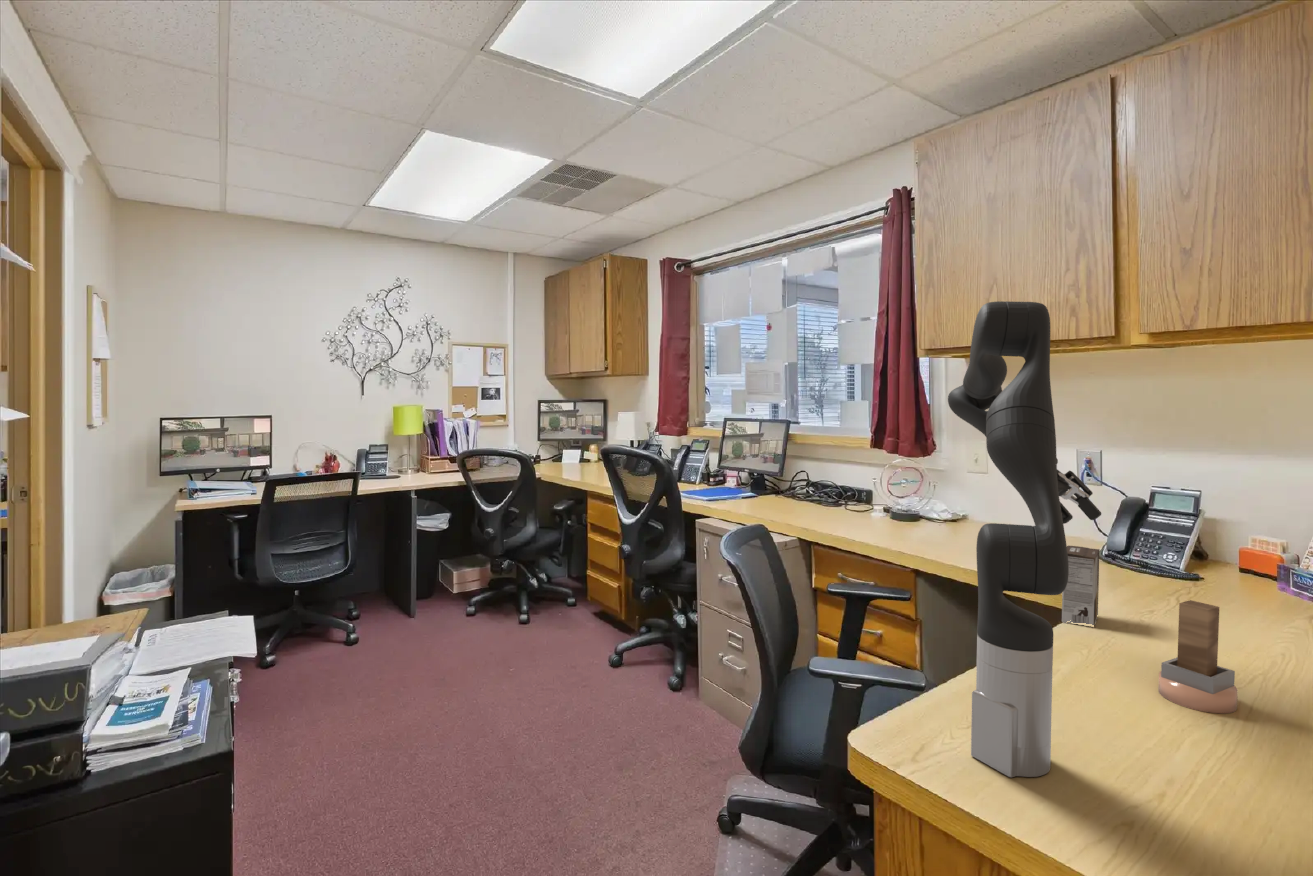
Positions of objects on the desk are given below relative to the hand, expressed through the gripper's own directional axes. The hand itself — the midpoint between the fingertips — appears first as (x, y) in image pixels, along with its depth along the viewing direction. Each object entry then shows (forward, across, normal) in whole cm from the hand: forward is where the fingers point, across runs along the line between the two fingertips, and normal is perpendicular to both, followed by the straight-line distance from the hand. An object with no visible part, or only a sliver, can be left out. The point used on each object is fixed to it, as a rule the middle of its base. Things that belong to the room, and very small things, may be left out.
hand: (1082, 519), depth 116 cm
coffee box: (+8, +27, +32) cm, 43 cm away
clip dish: (+31, +6, +9) cm, 33 cm away
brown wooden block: (+29, +6, +7) cm, 30 cm away
